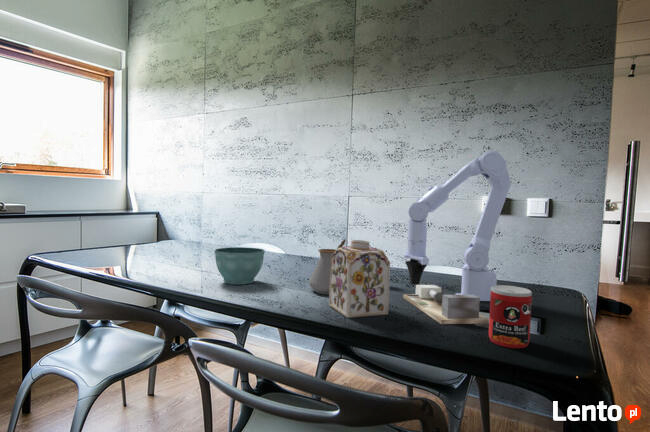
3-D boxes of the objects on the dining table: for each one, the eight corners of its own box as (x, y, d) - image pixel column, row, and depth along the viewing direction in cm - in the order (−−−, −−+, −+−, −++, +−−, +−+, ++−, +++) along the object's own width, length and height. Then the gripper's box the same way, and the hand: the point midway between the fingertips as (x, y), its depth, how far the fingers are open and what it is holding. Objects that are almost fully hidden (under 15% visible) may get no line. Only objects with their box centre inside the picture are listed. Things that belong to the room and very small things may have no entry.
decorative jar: (328, 305, 103) (330, 238, 102) (366, 303, 107) (369, 238, 107) (347, 319, 92) (350, 243, 91) (389, 315, 96) (392, 243, 96)
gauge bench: (441, 297, 117) (441, 277, 117) (488, 323, 92) (489, 298, 92) (403, 297, 115) (403, 277, 115) (441, 324, 90) (442, 298, 90)
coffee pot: (338, 298, 112) (340, 246, 111) (302, 293, 116) (304, 243, 116) (359, 284, 132) (361, 240, 131) (328, 280, 136) (330, 238, 135)
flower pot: (204, 280, 129) (205, 248, 128) (247, 275, 139) (248, 245, 139) (228, 290, 117) (229, 254, 116) (273, 284, 128) (274, 251, 127)
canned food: (489, 345, 78) (491, 290, 77) (487, 333, 85) (490, 283, 85) (531, 351, 75) (535, 295, 74) (526, 338, 82) (529, 287, 82)
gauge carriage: (434, 294, 114) (435, 284, 114) (450, 303, 105) (451, 292, 105) (405, 294, 113) (405, 284, 113) (418, 303, 103) (418, 292, 103)
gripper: (396, 238, 128) (395, 279, 128) (413, 243, 114) (411, 289, 114) (417, 239, 129) (415, 279, 129) (436, 243, 115) (434, 289, 115)
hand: (414, 284), depth 122 cm, fingers closed
